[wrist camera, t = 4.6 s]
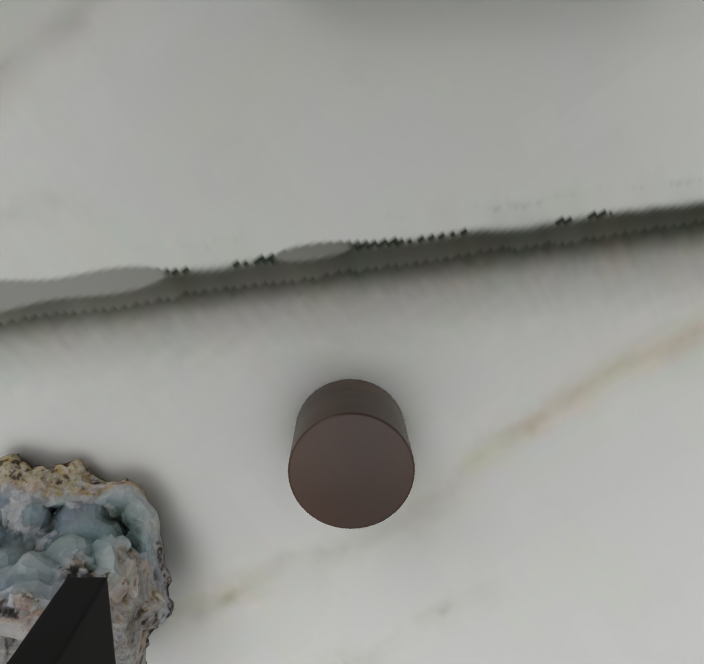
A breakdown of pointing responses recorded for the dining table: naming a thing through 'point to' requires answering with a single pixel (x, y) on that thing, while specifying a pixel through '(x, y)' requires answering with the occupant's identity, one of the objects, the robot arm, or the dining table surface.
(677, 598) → the dining table surface
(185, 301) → the dining table surface
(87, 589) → the robot arm
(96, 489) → the mineral specimen
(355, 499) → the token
